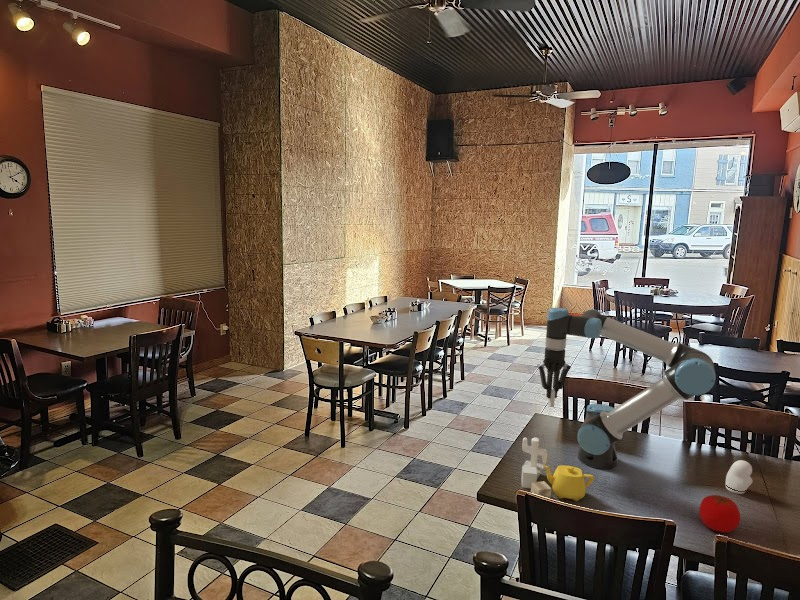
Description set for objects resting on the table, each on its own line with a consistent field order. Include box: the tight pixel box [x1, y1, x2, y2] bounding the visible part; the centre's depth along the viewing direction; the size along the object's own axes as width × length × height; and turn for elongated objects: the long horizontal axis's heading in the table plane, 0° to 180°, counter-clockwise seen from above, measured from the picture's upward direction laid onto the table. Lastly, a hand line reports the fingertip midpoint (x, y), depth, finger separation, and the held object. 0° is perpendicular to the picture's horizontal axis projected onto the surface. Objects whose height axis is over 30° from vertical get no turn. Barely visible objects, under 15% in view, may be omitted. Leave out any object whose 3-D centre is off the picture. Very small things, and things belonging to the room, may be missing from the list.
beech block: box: [530, 480, 552, 498], centre depth 186 cm, size 5×5×5 cm
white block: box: [520, 465, 538, 489], centre depth 195 cm, size 5×5×6 cm
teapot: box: [543, 464, 595, 502], centre depth 189 cm, size 18×11×11 cm, turn 76°
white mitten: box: [725, 459, 753, 495], centre depth 194 cm, size 7×8×12 cm
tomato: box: [699, 494, 741, 534], centre depth 171 cm, size 11×12×10 cm
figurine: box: [521, 436, 548, 480], centre depth 201 cm, size 7×9×15 cm
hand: (550, 405), depth 208 cm, fingers closed
